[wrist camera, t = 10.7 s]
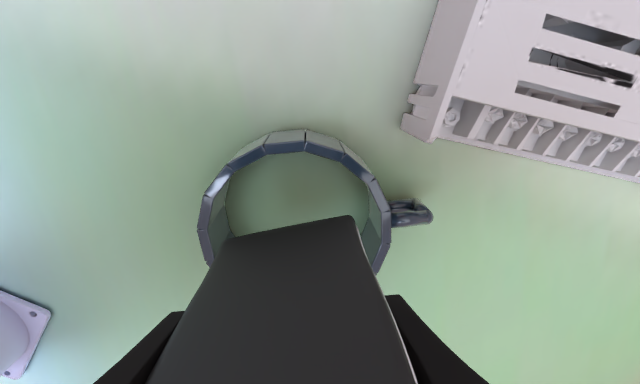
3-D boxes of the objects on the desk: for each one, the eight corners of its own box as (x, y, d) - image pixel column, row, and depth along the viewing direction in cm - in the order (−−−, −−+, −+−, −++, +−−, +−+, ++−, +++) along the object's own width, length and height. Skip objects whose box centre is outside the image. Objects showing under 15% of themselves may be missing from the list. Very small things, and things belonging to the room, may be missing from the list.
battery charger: (239, 297, 16) (110, 724, 5) (217, 236, 15) (-12, 644, 4) (367, 273, 16) (492, 665, 5) (356, 209, 15) (494, 561, 4)
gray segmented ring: (233, 283, 23) (220, 321, 19) (200, 138, 19) (175, 152, 15) (414, 265, 23) (434, 299, 19) (418, 117, 19) (444, 126, 15)
